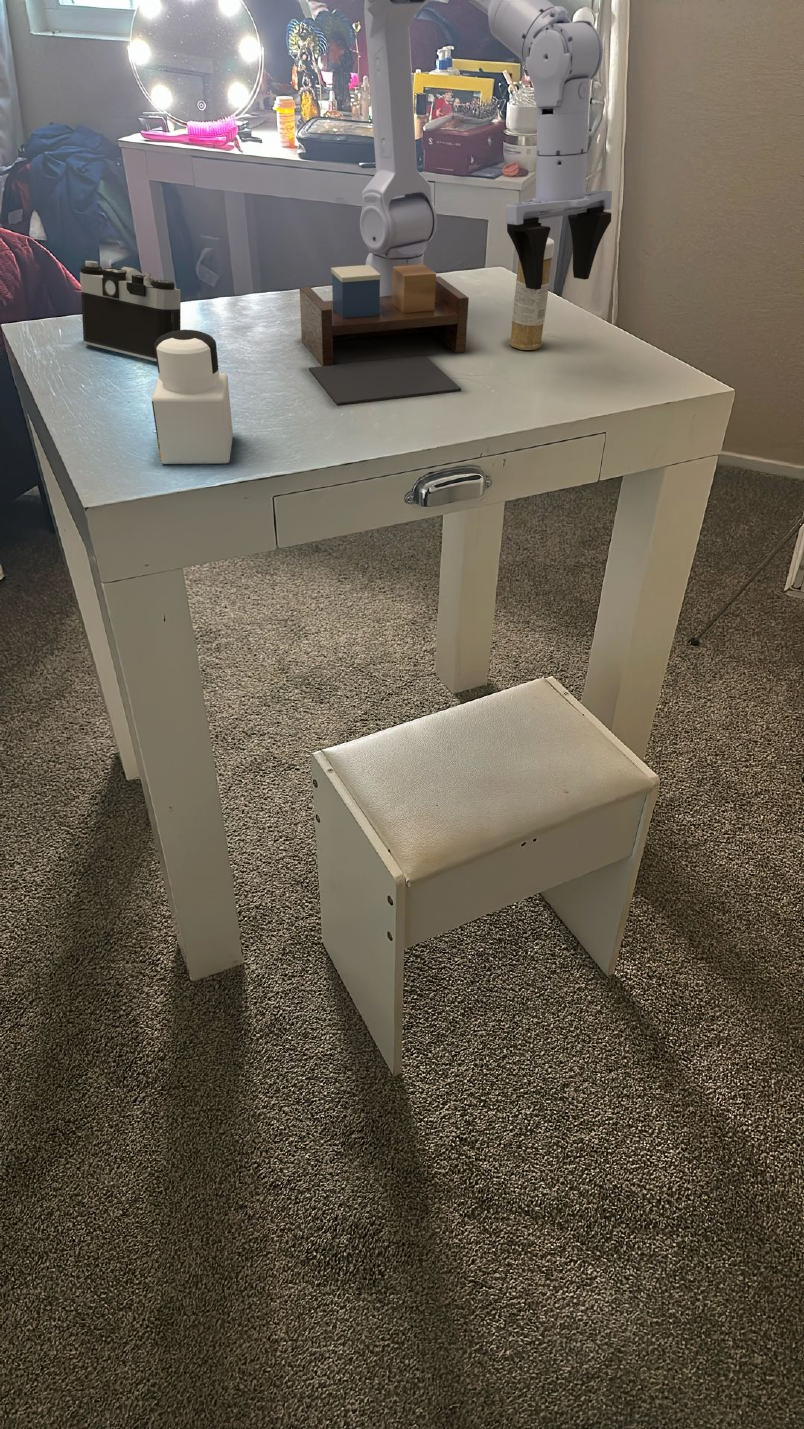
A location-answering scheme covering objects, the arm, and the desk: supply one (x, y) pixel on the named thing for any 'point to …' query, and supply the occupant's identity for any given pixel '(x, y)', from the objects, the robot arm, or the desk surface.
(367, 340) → the desk surface
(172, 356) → the medicine bottle
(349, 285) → the blue box
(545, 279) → the sprinkles bottle
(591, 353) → the desk surface
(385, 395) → the mat
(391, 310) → the shelf
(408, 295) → the tan box
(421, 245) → the robot arm
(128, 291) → the camera
